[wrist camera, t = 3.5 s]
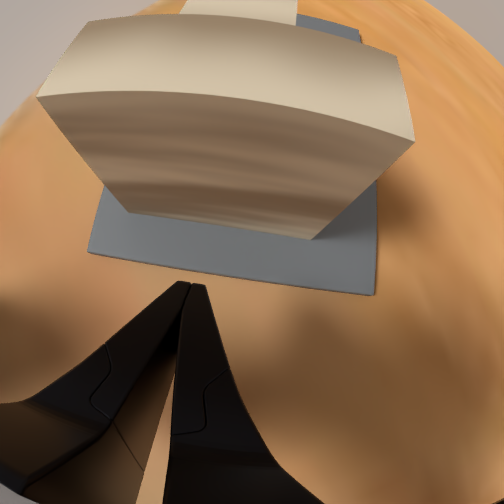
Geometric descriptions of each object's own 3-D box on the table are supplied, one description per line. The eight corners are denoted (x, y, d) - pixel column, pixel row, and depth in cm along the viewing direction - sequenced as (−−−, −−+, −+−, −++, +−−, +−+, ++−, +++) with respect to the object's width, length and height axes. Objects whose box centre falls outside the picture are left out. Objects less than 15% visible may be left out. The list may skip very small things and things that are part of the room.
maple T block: (310, 240, 16) (415, 141, 6) (128, 212, 15) (35, 96, 6) (317, 110, 18) (372, -11, 8) (168, 89, 17) (147, -38, 8)
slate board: (368, 295, 16) (373, 295, 16) (91, 253, 15) (86, 251, 15) (356, 34, 21) (358, 29, 21) (189, 7, 21) (189, 2, 20)
